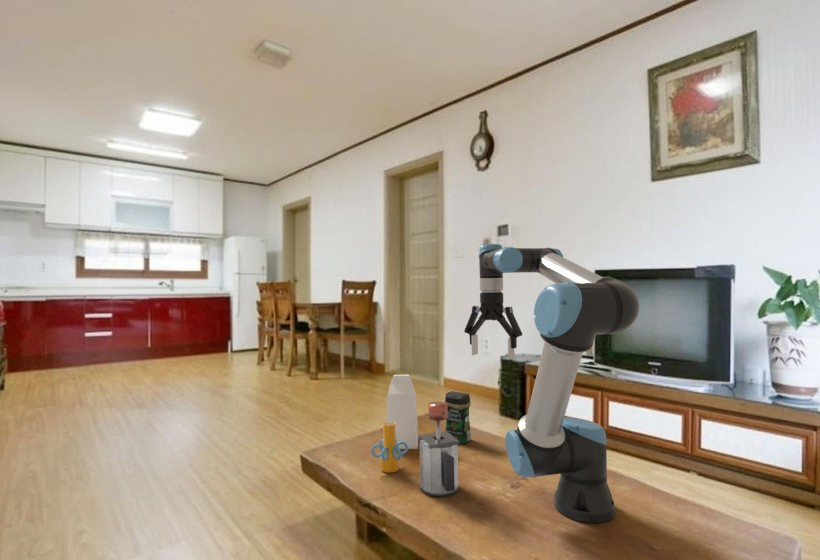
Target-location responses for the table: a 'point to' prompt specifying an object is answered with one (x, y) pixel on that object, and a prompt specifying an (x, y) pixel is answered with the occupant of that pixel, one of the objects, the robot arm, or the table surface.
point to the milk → (403, 410)
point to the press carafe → (438, 465)
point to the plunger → (438, 415)
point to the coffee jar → (458, 416)
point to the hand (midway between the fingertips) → (492, 356)
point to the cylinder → (389, 449)
